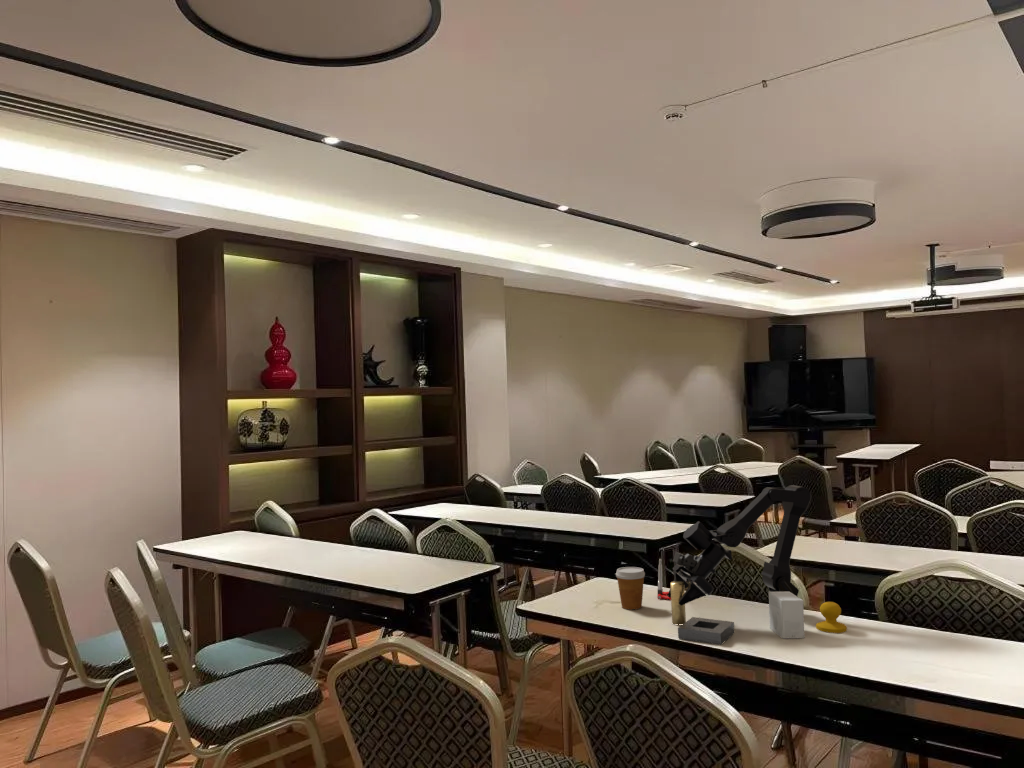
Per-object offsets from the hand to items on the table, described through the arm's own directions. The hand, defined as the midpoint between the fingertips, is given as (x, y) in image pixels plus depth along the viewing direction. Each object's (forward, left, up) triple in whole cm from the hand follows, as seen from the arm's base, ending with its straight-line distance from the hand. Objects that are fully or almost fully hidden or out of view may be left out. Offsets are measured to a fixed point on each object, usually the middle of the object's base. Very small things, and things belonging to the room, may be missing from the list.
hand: (674, 600), depth 224 cm
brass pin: (-1, -1, -7) cm, 7 cm away
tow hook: (+12, -29, -7) cm, 32 cm away
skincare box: (-31, -5, -7) cm, 32 cm away
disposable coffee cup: (+19, -12, -7) cm, 23 cm away
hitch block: (-12, +7, -7) cm, 16 cm away
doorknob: (-41, -14, -7) cm, 44 cm away
